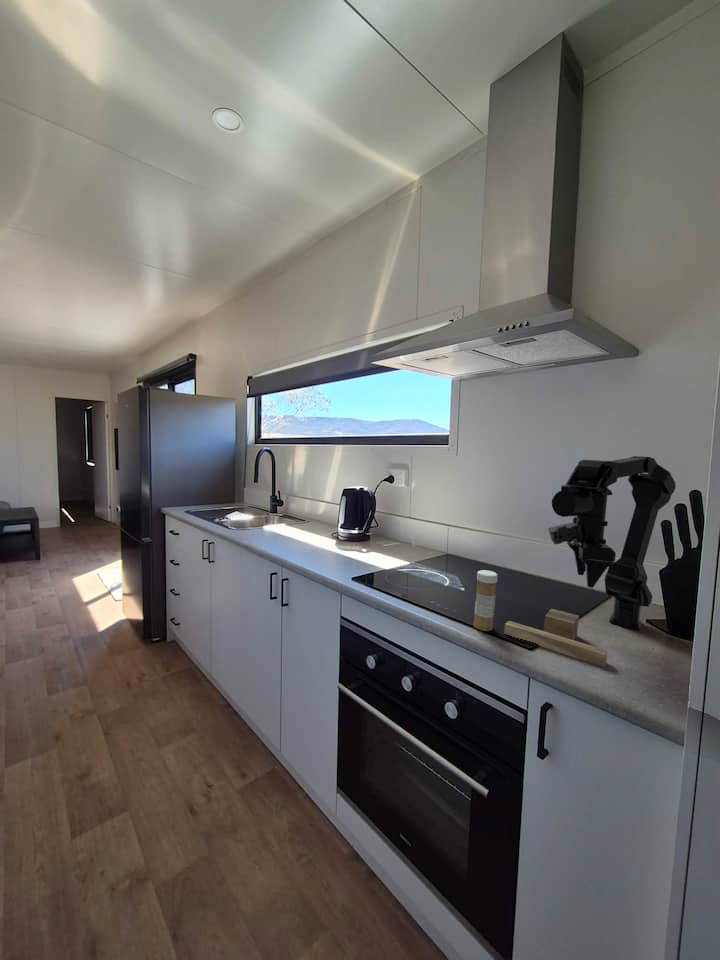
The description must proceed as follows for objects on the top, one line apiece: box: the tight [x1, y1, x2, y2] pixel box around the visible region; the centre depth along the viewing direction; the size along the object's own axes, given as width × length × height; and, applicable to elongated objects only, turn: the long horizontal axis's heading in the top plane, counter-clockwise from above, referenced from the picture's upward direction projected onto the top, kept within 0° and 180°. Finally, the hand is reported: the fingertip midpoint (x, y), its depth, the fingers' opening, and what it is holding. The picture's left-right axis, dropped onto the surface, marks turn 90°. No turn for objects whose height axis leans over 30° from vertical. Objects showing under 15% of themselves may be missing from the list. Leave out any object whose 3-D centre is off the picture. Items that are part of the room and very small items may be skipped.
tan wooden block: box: [543, 608, 580, 641], centre depth 93 cm, size 6×6×5 cm
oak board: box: [503, 620, 608, 668], centre depth 87 cm, size 2×20×2 cm, turn 52°
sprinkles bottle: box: [473, 569, 498, 632], centre depth 95 cm, size 5×5×13 cm
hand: (585, 580), depth 93 cm, fingers open, 9 cm apart
